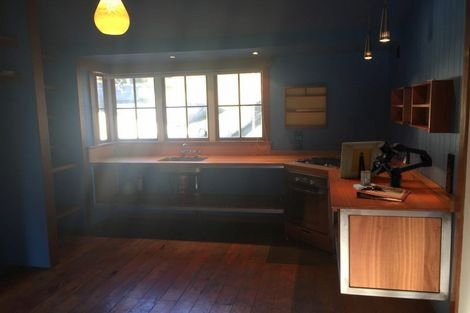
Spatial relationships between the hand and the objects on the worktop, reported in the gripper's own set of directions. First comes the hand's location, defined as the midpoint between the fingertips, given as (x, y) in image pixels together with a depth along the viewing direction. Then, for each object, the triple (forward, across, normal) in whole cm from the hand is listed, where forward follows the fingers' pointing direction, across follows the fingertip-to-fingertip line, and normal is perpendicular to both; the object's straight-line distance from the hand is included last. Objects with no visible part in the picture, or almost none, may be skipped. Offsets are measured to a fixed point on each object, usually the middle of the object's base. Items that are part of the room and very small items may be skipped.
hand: (373, 173), depth 265 cm
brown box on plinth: (+10, 0, +2) cm, 10 cm away
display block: (+11, 0, +3) cm, 11 cm away
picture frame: (+1, -40, +13) cm, 42 cm away
